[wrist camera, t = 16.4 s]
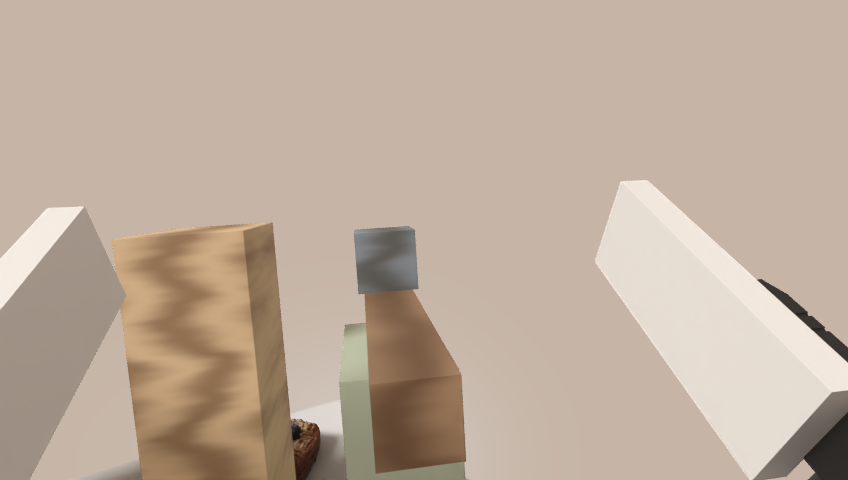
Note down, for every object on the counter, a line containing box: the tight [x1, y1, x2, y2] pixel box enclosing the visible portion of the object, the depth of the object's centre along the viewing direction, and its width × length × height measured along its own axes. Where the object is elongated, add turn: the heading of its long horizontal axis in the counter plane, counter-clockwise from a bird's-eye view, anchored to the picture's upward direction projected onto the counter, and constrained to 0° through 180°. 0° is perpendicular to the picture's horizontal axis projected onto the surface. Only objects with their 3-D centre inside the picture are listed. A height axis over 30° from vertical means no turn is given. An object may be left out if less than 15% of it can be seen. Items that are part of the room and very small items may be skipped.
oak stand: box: [112, 223, 296, 480], centre depth 41 cm, size 9×12×30 cm
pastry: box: [291, 419, 320, 480], centre depth 56 cm, size 11×12×6 cm
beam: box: [354, 226, 466, 474], centre depth 32 cm, size 5×24×9 cm, turn 8°
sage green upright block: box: [339, 323, 465, 480], centre depth 39 cm, size 8×14×20 cm, turn 8°
